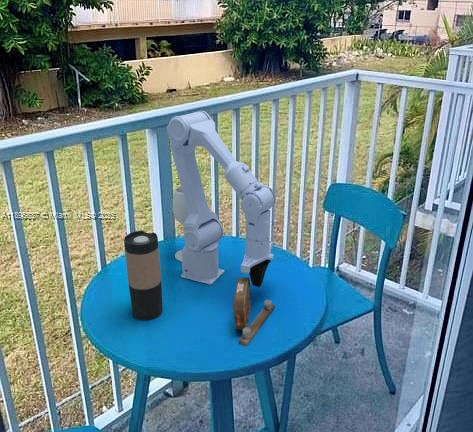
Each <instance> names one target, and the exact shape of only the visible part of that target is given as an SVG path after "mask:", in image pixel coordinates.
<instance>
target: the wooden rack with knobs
mask: <svg viewBox="0 0 473 432" xmlns="http://www.w3.org/2000/svg"><path fill="white" fill-rule="evenodd" d="M263 302H264V303H263V304H264V306H263V308H262V309H261V311H260V312H259V313H258V314H257V316H256V317H255V319H254V320H253V321H252V322H251V324H250V325H248V327H245V328H243V329H242V335H241V336H240V338H239V340H238V344H240V345H243V346H245V347H248V345H249V344H250V343H251V342H252V339H254V337H255V336H256V335H257V333H258V332H259V330H260V329H261V327H262V326H263V324H264V323H265V322H266V321H267V319H268V318H269V317H270V315H271V314H272V312H273V311H274V310H275V309H274V308H276V305H275V304H273V301H272V300H270V299H265V300H264V301H263Z"/></svg>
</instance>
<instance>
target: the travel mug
mask: <svg viewBox="0 0 473 432" xmlns="http://www.w3.org/2000/svg"><path fill="white" fill-rule="evenodd" d="M158 239H159V237H158V235H157V233H156V232H155V231H153V232H151V233H150V232H147V231H144V230H137V231H132V232H130V233H128V234H127V235H125V237H124V238H123V243H124V251H125V252H124V253H125V262H126V274H127V281H128V282H127V284H128V291H129V298H130V303H131V309H132V311H131V312H132V315H133V317H134V318H135V319H137V320H140V321H150V320H154V319H156V318H158V317H160V316H161V315H162V313H163V292H162V291H163V289H162V286H163V285H162V284H163V283H162V270H161V261H160V260H161V259H160V250H159V249H160V248H159V240H158Z"/></svg>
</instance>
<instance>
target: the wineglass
mask: <svg viewBox="0 0 473 432" xmlns="http://www.w3.org/2000/svg"><path fill="white" fill-rule="evenodd" d="M172 213H173V216H174V218H175V221H177V222H178V223H179V224H181V225H182V226H183V224H184V222H185V221H186V219H187V217H188V215H189V214H188V210H187V206H186V203H185V199H184V195H183V192H182V188H181V185H180V186H177V187H175V188H174V192H173V196H172ZM182 251H183V248H182V249H180V250H178V251H177V252H176V253H175V254H174V256H175V257H174V258H175V259H176V260H177V261H180V262H182Z"/></svg>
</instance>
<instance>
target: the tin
mask: <svg viewBox="0 0 473 432" xmlns="http://www.w3.org/2000/svg"><path fill="white" fill-rule="evenodd" d="M251 294H252V293H251V278H250V276H248V277H245V276H244V277H238V278H237V280H236V285H235V291H234V296H233V317H234V328H235V329H236V330H243V328H245V327H249V320H250V313H251V306H252V305H251V304H252V303H251V302H252V295H251Z"/></svg>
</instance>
